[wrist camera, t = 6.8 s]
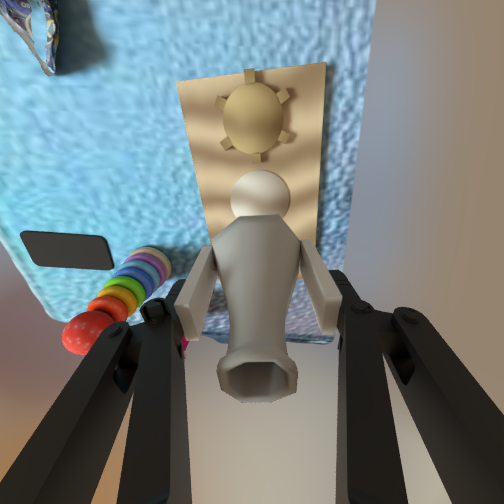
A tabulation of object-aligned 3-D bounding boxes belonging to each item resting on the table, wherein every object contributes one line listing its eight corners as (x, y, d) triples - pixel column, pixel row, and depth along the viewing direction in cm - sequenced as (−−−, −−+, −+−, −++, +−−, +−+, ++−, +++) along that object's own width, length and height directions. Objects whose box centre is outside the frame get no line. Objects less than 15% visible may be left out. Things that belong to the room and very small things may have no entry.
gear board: (179, 84, 26) (172, 79, 24) (322, 66, 25) (329, 58, 23) (220, 279, 41) (218, 288, 39) (311, 273, 40) (315, 281, 38)
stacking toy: (171, 247, 38) (106, 330, 21) (174, 282, 42) (121, 375, 25) (127, 242, 37) (27, 323, 21) (135, 278, 41) (55, 369, 25)
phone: (113, 271, 40) (35, 266, 40) (116, 268, 41) (39, 264, 40) (103, 236, 37) (16, 231, 36) (106, 234, 37) (21, 229, 37)
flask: (311, 275, 18) (366, 411, 9) (234, 298, 19) (216, 435, 10) (286, 196, 14) (334, 288, 6) (196, 231, 16) (121, 347, 7)
